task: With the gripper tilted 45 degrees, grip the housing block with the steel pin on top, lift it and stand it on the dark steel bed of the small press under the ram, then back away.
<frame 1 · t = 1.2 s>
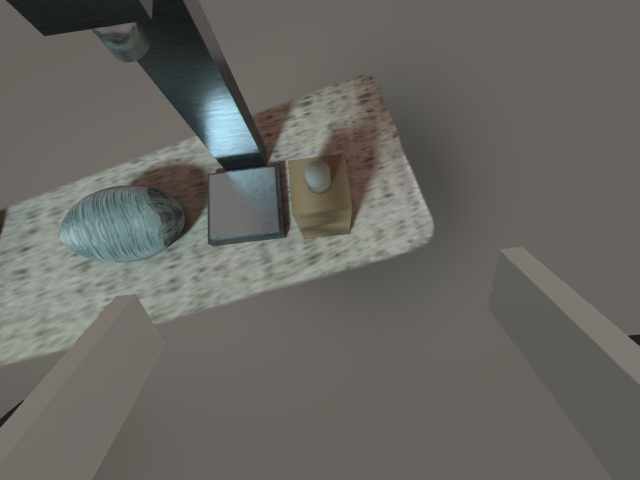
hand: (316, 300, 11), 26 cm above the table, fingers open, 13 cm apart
blue grey streaked ovoid: (147, 233, 41), on the table
housing: (324, 215, 40), on the table
press: (247, 207, 41), on the table
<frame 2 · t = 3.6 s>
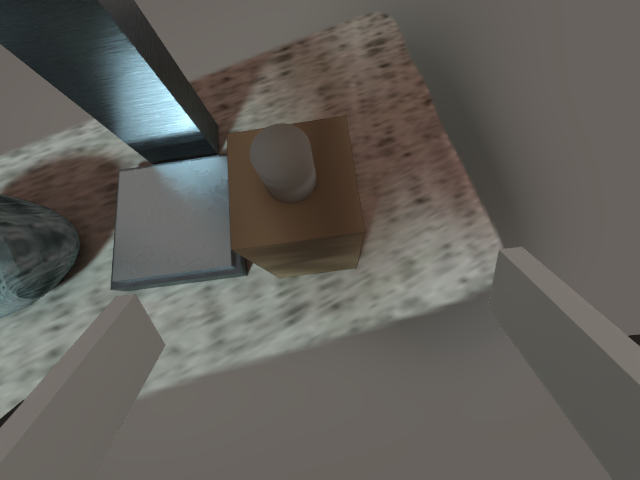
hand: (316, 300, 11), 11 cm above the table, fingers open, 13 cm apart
blue grey streaked ovoid: (23, 270, 25), on the table
housing: (313, 235, 23), on the table
press: (185, 223, 25), on the table
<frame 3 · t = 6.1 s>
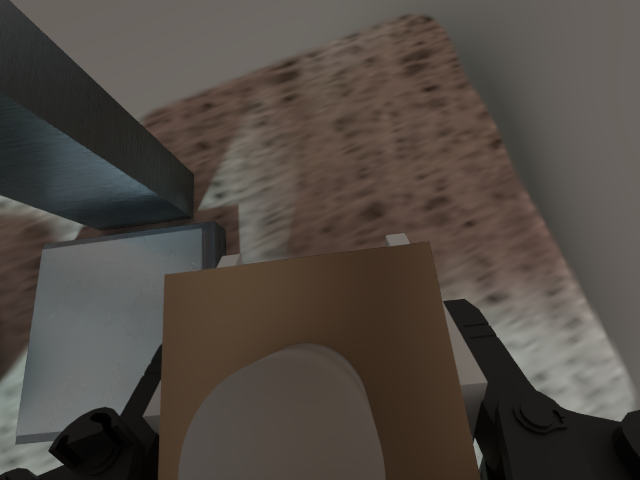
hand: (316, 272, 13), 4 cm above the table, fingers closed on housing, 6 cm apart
housing: (330, 351, 15), on the table, touching gripper
press: (141, 324, 17), on the table
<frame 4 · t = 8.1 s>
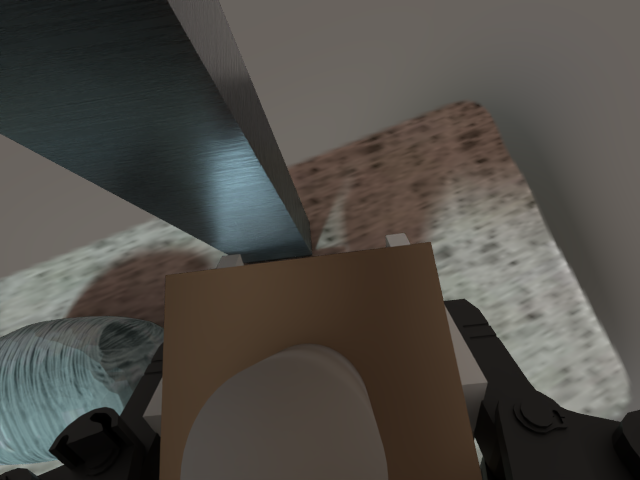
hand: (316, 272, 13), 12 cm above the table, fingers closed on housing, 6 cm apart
blue grey streaked ovoid: (114, 374, 25), on the table
housing: (331, 351, 15), point 8 cm above the table, touching gripper
press: (282, 331, 24), on the table
when the fingers open (7 cm above the table, at t = 10.2 s): housing drops 1 cm, resting on press.
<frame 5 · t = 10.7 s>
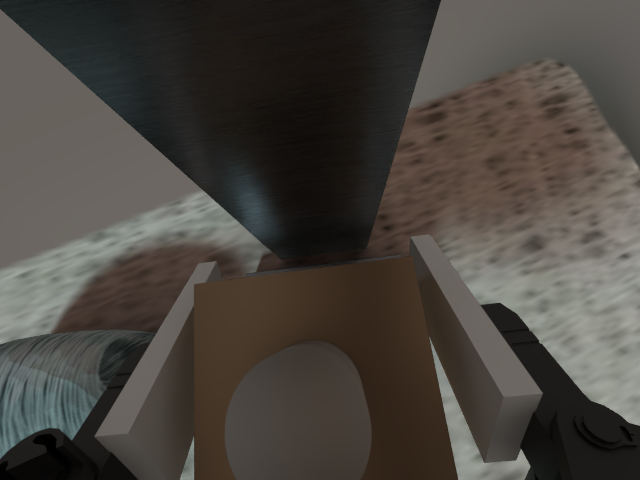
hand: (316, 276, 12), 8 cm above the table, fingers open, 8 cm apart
blue grey streaked ovoid: (118, 400, 19), on the table
housing: (331, 348, 17), point 2 cm above the table, touching press
press: (333, 345, 19), on the table
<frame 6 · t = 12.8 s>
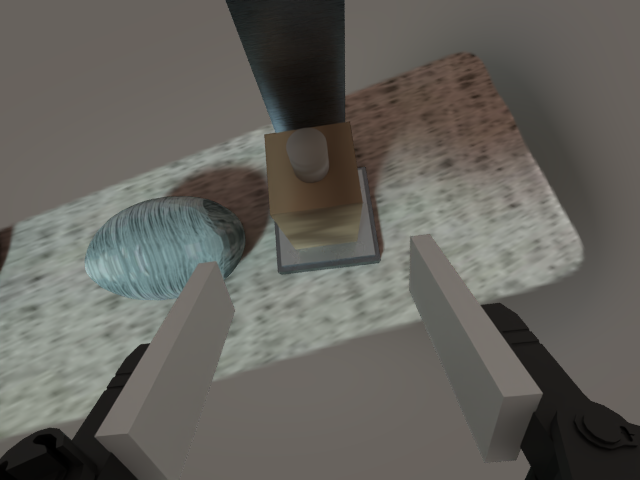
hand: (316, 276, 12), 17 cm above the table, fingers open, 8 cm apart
blue grey streaked ovoid: (193, 257, 32), on the table
housing: (322, 216, 29), point 2 cm above the table, touching press
press: (324, 222, 31), on the table
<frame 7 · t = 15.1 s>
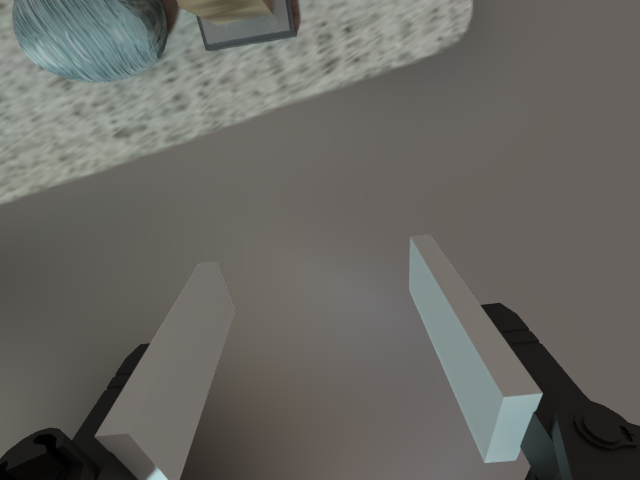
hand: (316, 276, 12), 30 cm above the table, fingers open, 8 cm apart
blue grey streaked ovoid: (119, 33, 33), on the table
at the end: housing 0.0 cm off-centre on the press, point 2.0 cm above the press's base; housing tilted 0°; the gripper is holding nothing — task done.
